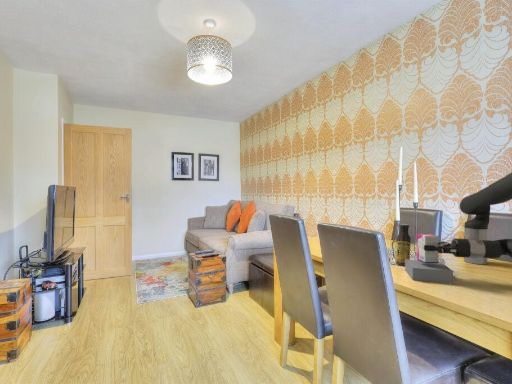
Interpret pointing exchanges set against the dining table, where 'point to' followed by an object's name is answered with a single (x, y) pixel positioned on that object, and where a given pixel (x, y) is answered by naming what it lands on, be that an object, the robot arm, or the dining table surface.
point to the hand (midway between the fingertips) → (421, 246)
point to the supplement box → (426, 255)
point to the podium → (428, 271)
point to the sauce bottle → (403, 245)
